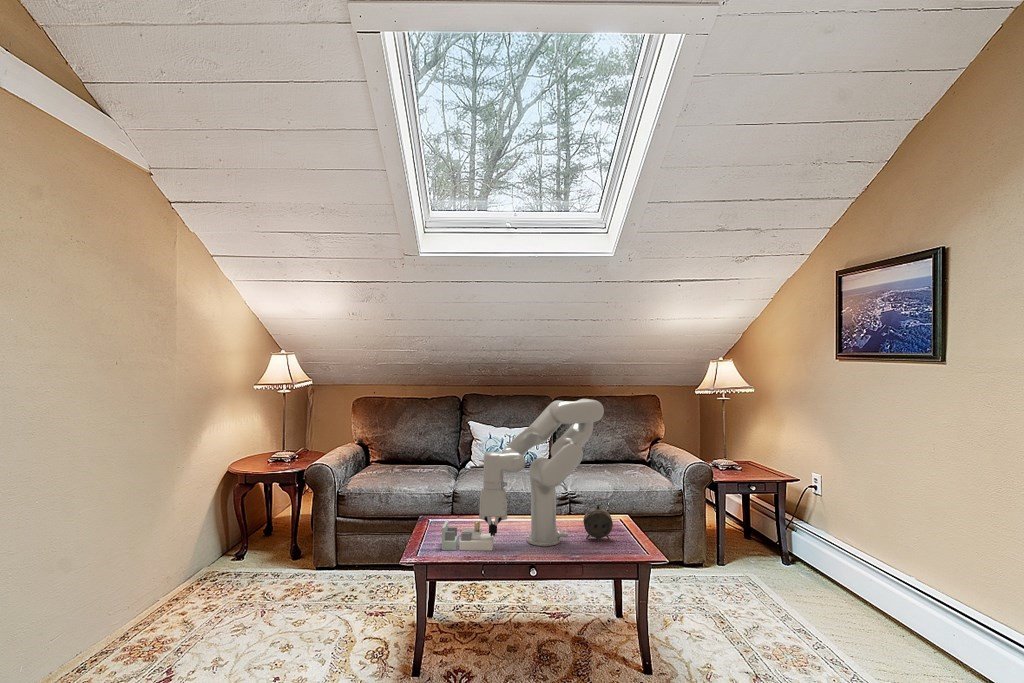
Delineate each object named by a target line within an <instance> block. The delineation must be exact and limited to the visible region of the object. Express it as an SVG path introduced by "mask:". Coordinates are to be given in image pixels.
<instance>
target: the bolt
mask: <svg viewBox="0 0 1024 683" xmlns="http://www.w3.org/2000/svg"><path fill="white" fill-rule="evenodd" d="M473 524H474V528H470V529H464V528H462V530H461V533H471V539H480V538H481V534H482V528H481V525H480V524H481V522H480V521H474V523H473Z"/></svg>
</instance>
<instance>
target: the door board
mask: <svg viewBox="0 0 1024 683" xmlns="http://www.w3.org/2000/svg"><path fill="white" fill-rule="evenodd" d="M463 529H471V528H466V527H465V528H463ZM460 537H461V538H459V543H458V545H459V551H493V548H494V544H495V536H491V533H481V538H480V539H471V533H461V536H460Z"/></svg>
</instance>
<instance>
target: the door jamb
mask: <svg viewBox="0 0 1024 683" xmlns="http://www.w3.org/2000/svg"><path fill="white" fill-rule="evenodd" d="M449 524H450V523H449V520H445V522H444V523H443V526H442V527H441V550H442V551H456V550H457V548H458V545H459V542H460V533H458V527H457V526H449Z"/></svg>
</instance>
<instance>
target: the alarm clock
mask: <svg viewBox="0 0 1024 683" xmlns="http://www.w3.org/2000/svg"><path fill="white" fill-rule="evenodd" d="M597 499H600V500H601V504H596V503H595V501H596V500H597ZM593 504H594V506H596V507H592V508H590V509H588V510H587V511H586V512H585V514H584V516H583V526H584V529H585V532H586V533H587V536H586V538H585V539H586V540H588V539H589V537H592V538H595V539H596V540H597V542H598V543H599V542H600V539H603V538H607V540H610V539H611V538H610V536H609V535H610V534H611V532H612V530H613V526H614V524H613V519H612V516H611V513H610V512H608V510H606V509H605V508H603V507H600V506H602V505H603V499H602V497H596V498H594V500H593Z"/></svg>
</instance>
